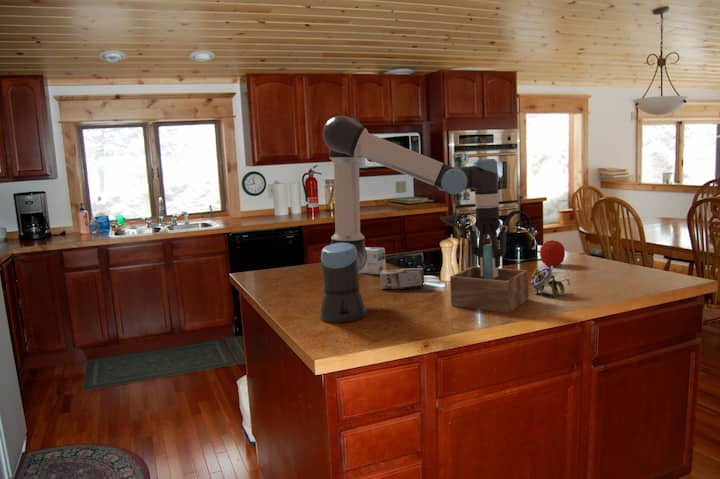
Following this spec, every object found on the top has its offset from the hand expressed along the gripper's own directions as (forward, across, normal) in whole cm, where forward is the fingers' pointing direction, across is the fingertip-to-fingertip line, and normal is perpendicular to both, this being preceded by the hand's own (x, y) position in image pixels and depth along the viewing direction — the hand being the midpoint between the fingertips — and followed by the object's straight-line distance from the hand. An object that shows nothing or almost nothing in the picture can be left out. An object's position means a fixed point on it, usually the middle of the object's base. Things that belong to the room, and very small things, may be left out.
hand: (489, 276), depth 185 cm
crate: (+9, 0, 0) cm, 9 cm away
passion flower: (+9, -14, -18) cm, 25 cm away
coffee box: (+6, +47, -4) cm, 48 cm away
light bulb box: (+9, +67, -24) cm, 72 cm away
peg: (+4, 0, 0) cm, 4 cm away
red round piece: (+9, 0, -62) cm, 63 cm away
